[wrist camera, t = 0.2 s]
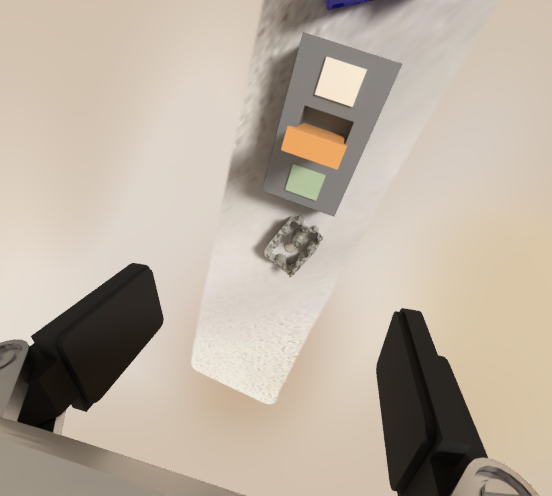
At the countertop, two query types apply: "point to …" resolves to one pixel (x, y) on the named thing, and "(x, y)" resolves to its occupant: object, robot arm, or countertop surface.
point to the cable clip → (342, 3)
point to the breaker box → (328, 118)
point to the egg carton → (293, 245)
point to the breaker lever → (315, 144)
